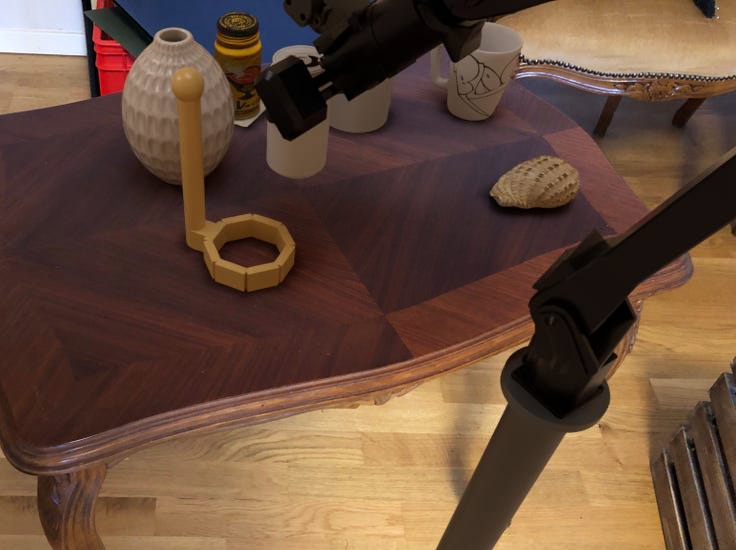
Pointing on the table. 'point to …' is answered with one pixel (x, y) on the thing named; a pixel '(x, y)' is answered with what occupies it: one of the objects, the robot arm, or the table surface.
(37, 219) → the table surface
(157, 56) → the vase
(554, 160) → the seashell
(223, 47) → the condiment
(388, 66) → the robot arm
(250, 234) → the holder
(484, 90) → the mug
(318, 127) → the beverage can
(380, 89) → the cup
